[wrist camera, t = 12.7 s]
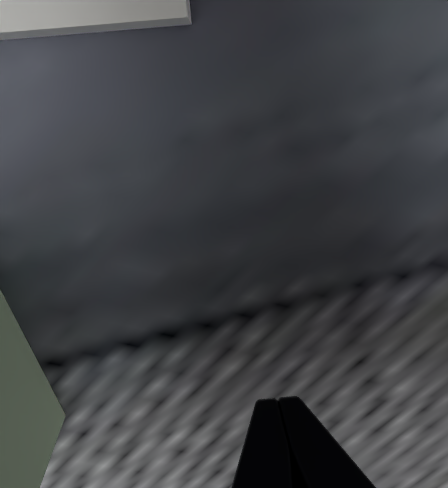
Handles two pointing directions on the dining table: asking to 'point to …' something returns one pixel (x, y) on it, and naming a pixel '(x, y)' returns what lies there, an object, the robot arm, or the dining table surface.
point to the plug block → (24, 409)
